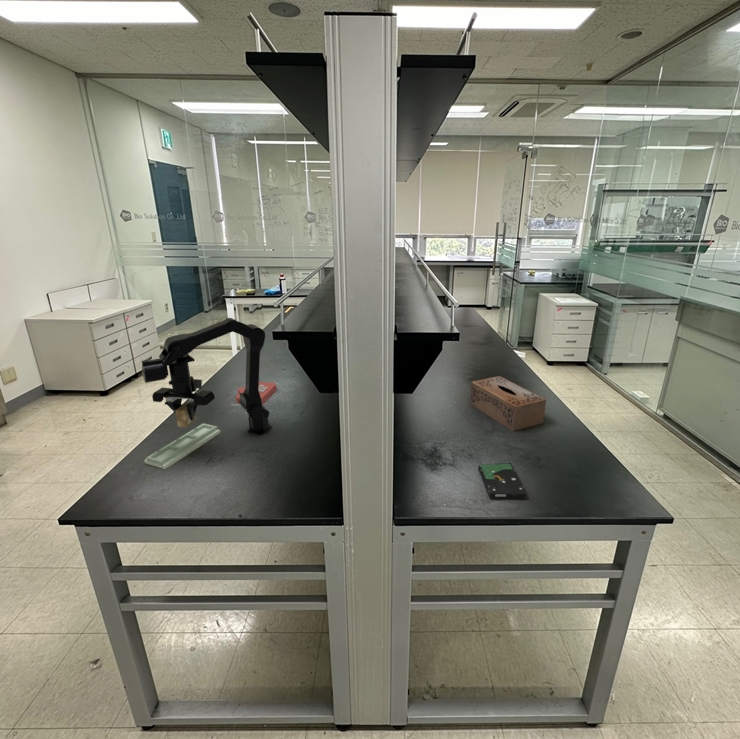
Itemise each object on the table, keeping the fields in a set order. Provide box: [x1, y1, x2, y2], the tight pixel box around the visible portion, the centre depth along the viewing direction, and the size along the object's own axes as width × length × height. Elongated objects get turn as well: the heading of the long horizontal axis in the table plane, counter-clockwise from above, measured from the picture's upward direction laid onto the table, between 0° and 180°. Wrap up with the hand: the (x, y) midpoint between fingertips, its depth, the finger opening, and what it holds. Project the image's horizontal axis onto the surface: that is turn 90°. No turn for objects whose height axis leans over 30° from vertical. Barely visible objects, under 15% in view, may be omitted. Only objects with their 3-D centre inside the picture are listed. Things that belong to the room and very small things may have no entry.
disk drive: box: [477, 462, 527, 500], centre depth 123 cm, size 10×3×15 cm
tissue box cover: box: [469, 375, 547, 432], centre depth 164 cm, size 26×14×10 cm, turn 24°
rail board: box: [143, 423, 221, 470], centre depth 145 cm, size 9×25×3 cm, turn 156°
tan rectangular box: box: [174, 402, 197, 429], centre depth 138 cm, size 3×6×6 cm, turn 171°
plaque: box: [235, 381, 278, 405], centre depth 184 cm, size 18×4×15 cm
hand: (187, 419), depth 139 cm, fingers closed on tan rectangular box, 3 cm apart
